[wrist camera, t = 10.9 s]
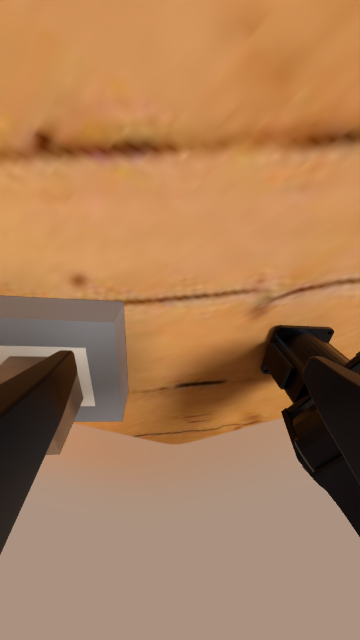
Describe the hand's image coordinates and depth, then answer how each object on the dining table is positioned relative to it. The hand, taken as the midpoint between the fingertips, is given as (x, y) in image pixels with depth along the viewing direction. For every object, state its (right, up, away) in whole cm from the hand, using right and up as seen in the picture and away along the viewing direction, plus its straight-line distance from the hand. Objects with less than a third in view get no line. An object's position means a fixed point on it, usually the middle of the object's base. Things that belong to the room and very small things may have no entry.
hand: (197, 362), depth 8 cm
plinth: (-12, -2, +14) cm, 19 cm away
